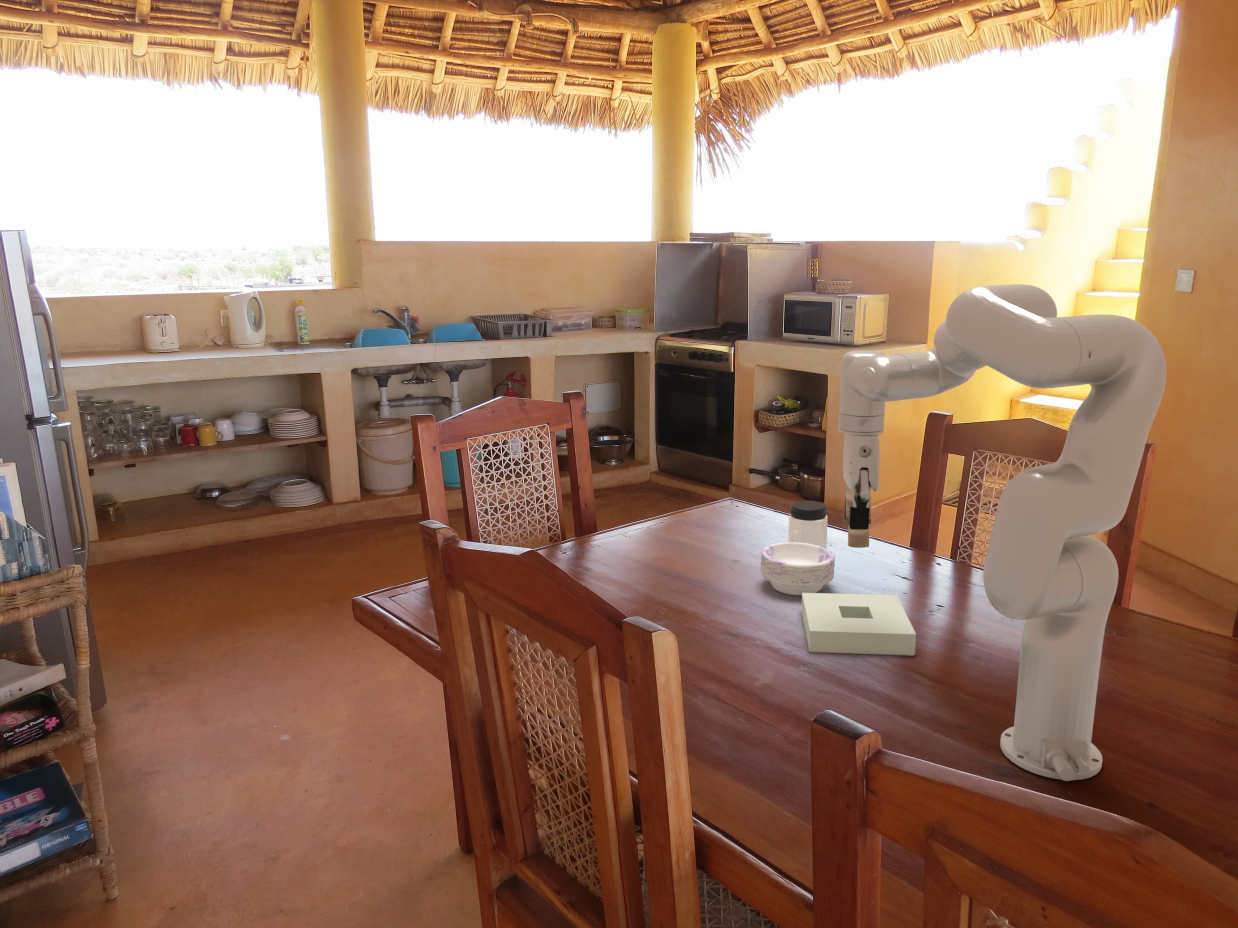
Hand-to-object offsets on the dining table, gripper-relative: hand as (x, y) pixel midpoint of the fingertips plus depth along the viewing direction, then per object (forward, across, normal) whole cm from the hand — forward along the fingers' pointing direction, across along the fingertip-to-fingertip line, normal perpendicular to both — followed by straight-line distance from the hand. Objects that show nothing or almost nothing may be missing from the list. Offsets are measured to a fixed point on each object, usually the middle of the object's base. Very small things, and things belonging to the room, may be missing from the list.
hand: (856, 523), depth 151 cm
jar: (+23, +46, +3) cm, 52 cm away
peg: (+4, -1, 0) cm, 4 cm away
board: (+22, +2, -1) cm, 22 cm away
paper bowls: (+23, +24, +7) cm, 34 cm away
